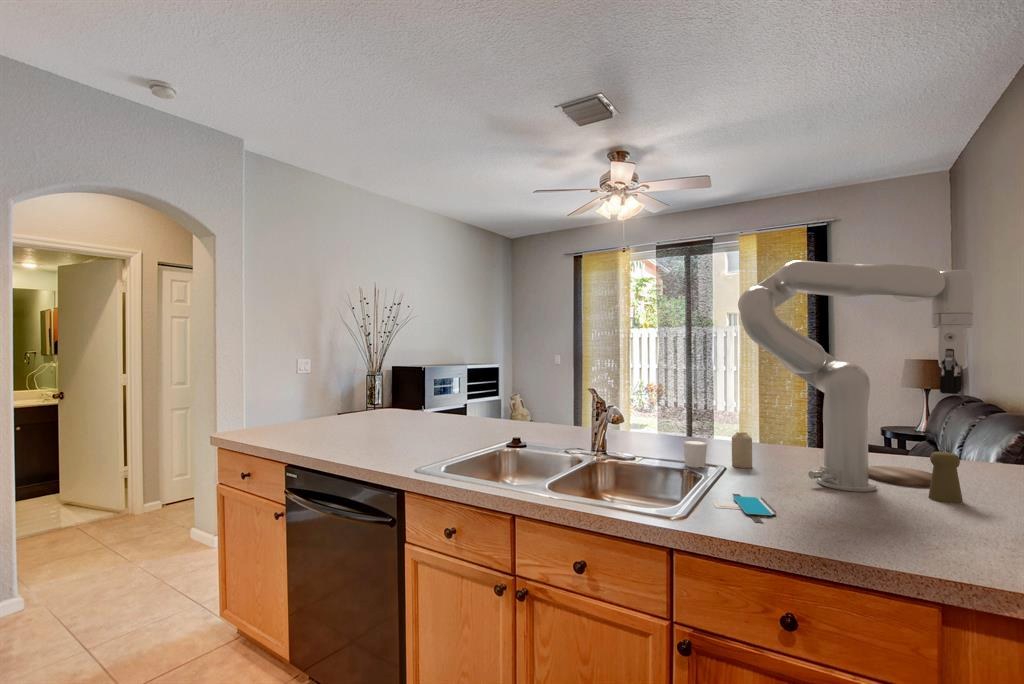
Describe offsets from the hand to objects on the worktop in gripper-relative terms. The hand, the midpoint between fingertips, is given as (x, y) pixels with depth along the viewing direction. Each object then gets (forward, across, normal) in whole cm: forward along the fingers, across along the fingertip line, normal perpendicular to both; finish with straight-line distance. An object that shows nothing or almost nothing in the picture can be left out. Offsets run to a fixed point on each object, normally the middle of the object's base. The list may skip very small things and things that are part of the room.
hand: (950, 392), depth 119 cm
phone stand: (+27, -45, +32) cm, 61 cm away
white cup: (+26, -15, +56) cm, 64 cm away
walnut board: (+25, +9, +10) cm, 28 cm away
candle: (+26, -6, +46) cm, 53 cm away
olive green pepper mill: (+25, -7, 0) cm, 26 cm away
